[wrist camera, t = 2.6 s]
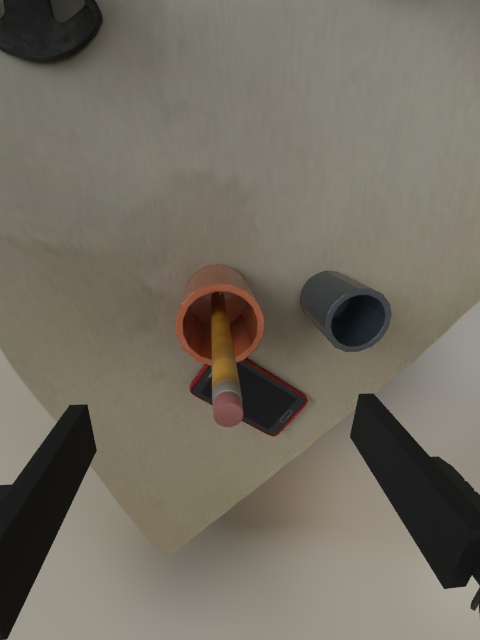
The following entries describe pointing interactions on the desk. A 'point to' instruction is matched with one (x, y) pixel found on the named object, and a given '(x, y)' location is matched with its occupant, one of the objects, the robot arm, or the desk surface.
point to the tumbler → (345, 310)
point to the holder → (45, 29)
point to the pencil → (224, 367)
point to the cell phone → (257, 397)
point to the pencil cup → (197, 313)
